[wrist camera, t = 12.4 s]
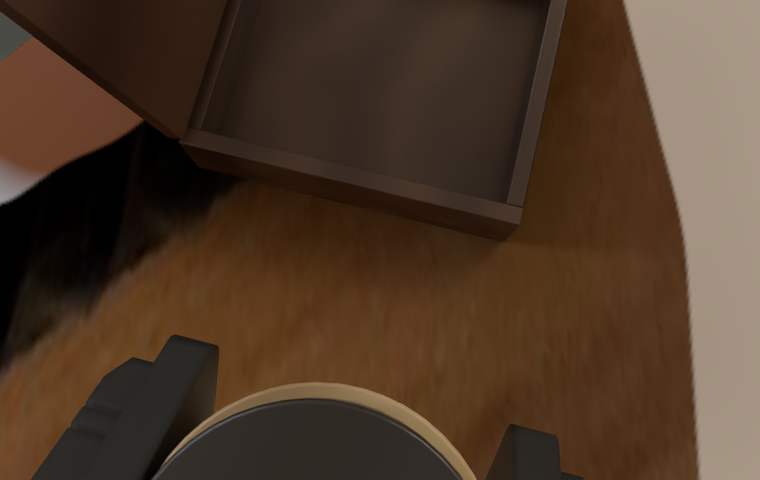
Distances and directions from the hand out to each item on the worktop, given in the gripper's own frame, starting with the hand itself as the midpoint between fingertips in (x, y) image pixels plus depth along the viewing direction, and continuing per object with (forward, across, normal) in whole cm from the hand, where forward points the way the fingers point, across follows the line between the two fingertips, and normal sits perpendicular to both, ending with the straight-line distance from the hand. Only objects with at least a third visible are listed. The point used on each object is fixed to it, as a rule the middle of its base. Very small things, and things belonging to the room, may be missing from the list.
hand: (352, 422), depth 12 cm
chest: (+27, +3, +4) cm, 28 cm away
